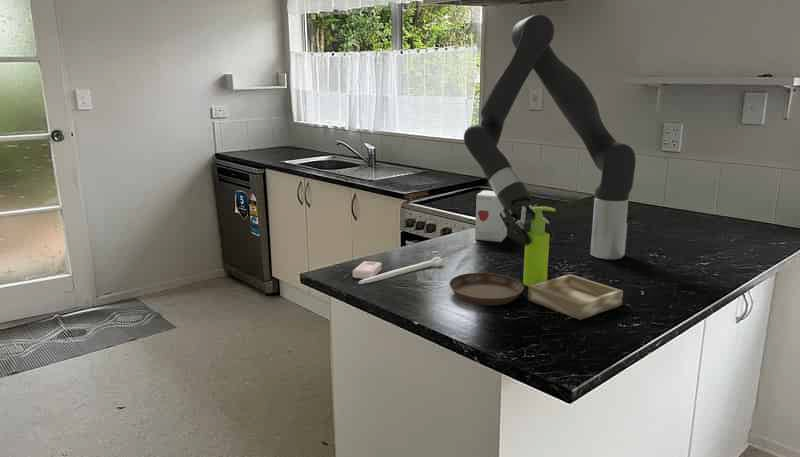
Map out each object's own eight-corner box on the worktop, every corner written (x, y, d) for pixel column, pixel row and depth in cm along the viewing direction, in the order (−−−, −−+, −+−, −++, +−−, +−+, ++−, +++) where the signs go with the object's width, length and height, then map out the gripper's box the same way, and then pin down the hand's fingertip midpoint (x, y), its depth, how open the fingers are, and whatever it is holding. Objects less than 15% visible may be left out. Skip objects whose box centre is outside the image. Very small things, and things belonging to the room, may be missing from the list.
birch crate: (569, 287, 149) (569, 274, 149) (621, 304, 138) (623, 290, 137) (527, 300, 141) (528, 285, 140) (580, 320, 129) (581, 304, 128)
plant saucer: (536, 304, 139) (537, 292, 138) (465, 313, 134) (466, 300, 133) (502, 280, 155) (503, 269, 154) (438, 287, 150) (438, 276, 150)
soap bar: (352, 278, 157) (351, 270, 157) (363, 268, 166) (363, 260, 165) (371, 280, 156) (371, 271, 155) (382, 270, 164) (382, 262, 164)
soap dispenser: (551, 288, 148) (556, 210, 144) (523, 286, 150) (526, 209, 145) (550, 281, 154) (555, 205, 149) (523, 279, 155) (526, 204, 151)
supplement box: (474, 239, 194) (475, 194, 190) (481, 233, 202) (482, 189, 199) (501, 242, 191) (503, 196, 187) (507, 235, 199) (509, 191, 195)
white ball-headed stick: (365, 289, 150) (365, 278, 149) (356, 284, 153) (356, 274, 152) (446, 267, 167) (446, 257, 166) (436, 263, 170) (436, 254, 169)
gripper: (497, 183, 148) (529, 237, 142) (536, 178, 156) (568, 229, 150) (481, 200, 154) (512, 253, 147) (520, 194, 162) (550, 244, 155)
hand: (540, 241), depth 149 cm, fingers open, 8 cm apart
